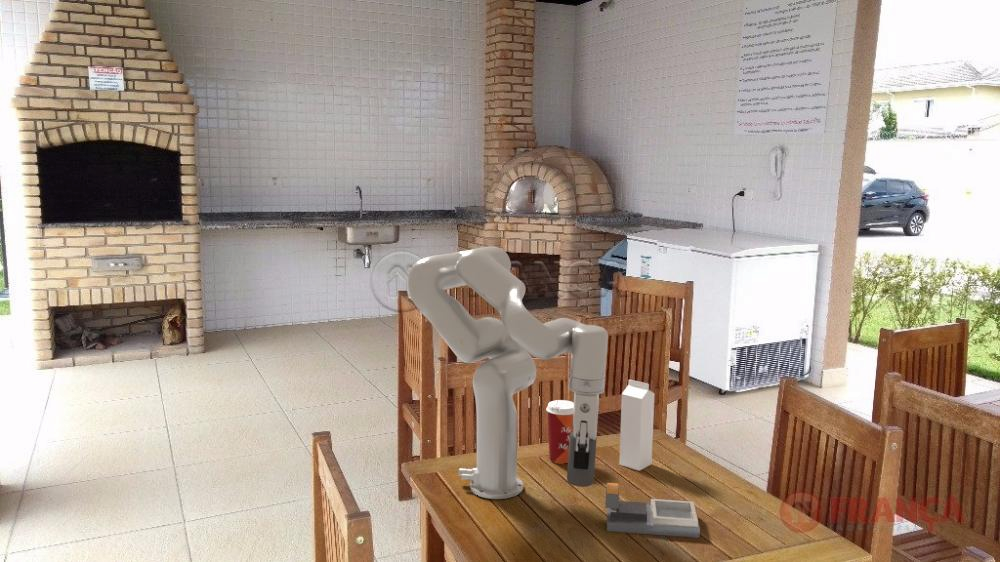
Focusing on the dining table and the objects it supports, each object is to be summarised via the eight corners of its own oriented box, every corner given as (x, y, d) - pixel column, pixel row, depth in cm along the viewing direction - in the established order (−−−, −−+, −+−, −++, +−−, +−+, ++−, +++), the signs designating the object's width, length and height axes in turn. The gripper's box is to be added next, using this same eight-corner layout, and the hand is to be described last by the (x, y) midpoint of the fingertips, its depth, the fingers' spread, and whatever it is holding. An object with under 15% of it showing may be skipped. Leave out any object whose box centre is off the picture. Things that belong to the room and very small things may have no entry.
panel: (606, 530, 162) (607, 515, 161) (607, 509, 171) (607, 494, 171) (699, 537, 159) (700, 522, 158) (694, 515, 169) (695, 500, 168)
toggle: (605, 507, 164) (606, 489, 164) (605, 500, 168) (606, 482, 167) (618, 508, 164) (619, 490, 163) (618, 501, 167) (619, 483, 167)
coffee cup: (568, 468, 194) (569, 411, 191) (539, 461, 198) (540, 405, 196) (582, 457, 201) (584, 402, 198) (554, 451, 205) (555, 397, 203)
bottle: (592, 488, 165) (597, 422, 163) (565, 485, 166) (569, 419, 164) (594, 477, 171) (599, 413, 168) (568, 473, 172) (572, 410, 169)
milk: (639, 471, 193) (642, 386, 189) (618, 464, 197) (621, 381, 193) (652, 464, 197) (655, 381, 193) (631, 457, 201) (634, 376, 197)
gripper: (604, 397, 156) (597, 481, 159) (604, 372, 172) (599, 448, 176) (567, 394, 157) (561, 477, 160) (571, 370, 173) (566, 445, 177)
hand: (581, 461), depth 168 cm, fingers closed on bottle, 5 cm apart
